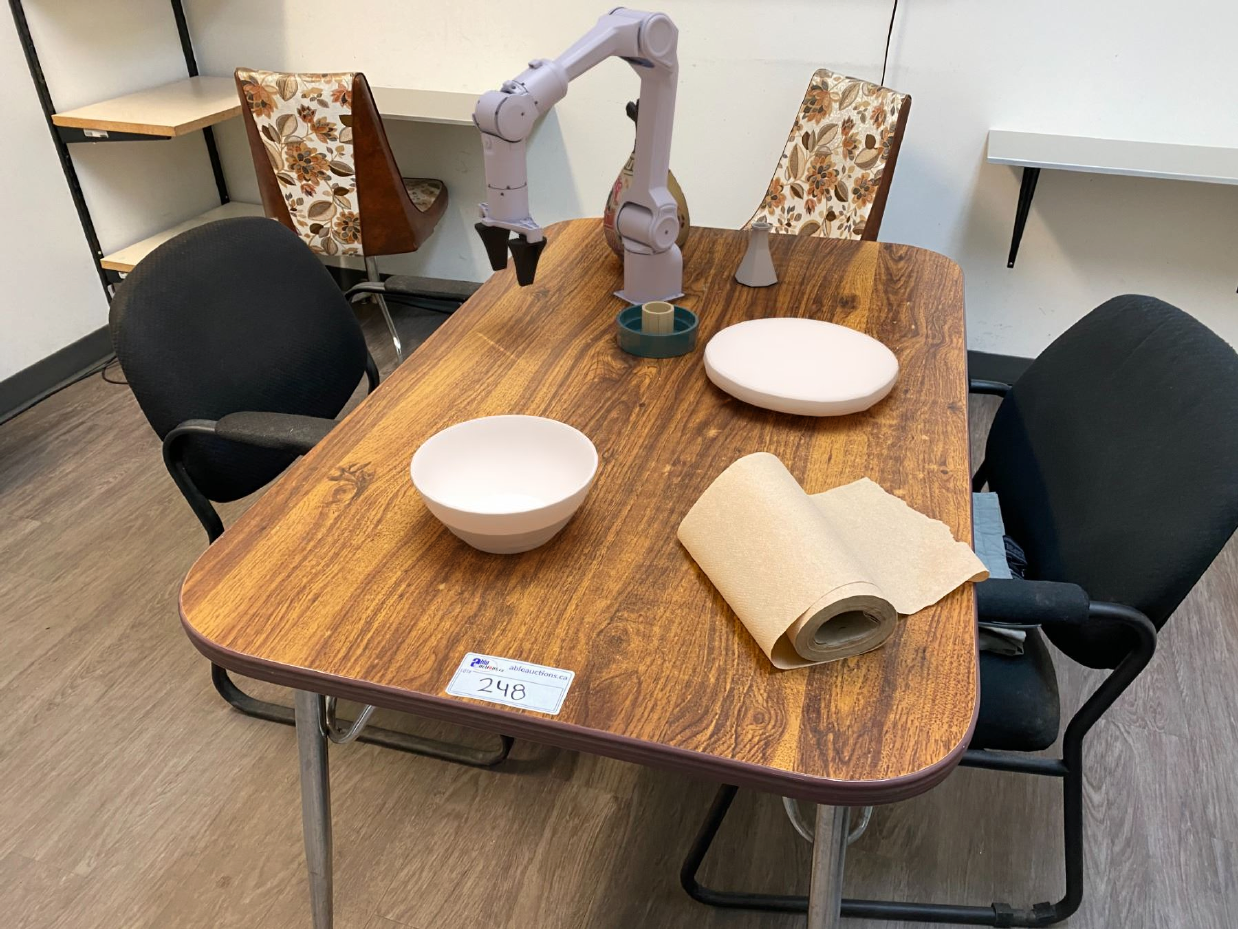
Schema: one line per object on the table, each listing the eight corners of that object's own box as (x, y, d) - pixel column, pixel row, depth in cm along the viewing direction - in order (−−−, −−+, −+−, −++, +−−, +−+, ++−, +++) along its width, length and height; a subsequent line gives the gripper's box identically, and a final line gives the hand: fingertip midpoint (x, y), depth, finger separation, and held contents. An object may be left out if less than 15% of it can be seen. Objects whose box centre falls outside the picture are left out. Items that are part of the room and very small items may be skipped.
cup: (658, 331, 141) (659, 298, 138) (679, 342, 138) (680, 308, 135) (634, 339, 139) (635, 305, 136) (654, 350, 135) (655, 316, 132)
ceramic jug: (597, 255, 172) (595, 85, 156) (676, 250, 174) (683, 82, 158) (612, 288, 158) (613, 105, 142) (699, 282, 160) (709, 102, 144)
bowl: (509, 457, 111) (505, 397, 106) (635, 517, 100) (636, 453, 96) (380, 531, 98) (370, 466, 94) (509, 608, 88) (503, 539, 83)
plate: (716, 304, 140) (895, 319, 135) (713, 344, 142) (888, 361, 138) (693, 365, 115) (911, 387, 111) (689, 412, 118) (902, 436, 113)
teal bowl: (662, 321, 146) (663, 296, 143) (713, 348, 138) (715, 322, 135) (600, 340, 140) (600, 315, 137) (650, 369, 131) (651, 342, 129)
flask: (727, 276, 163) (731, 221, 158) (762, 270, 165) (767, 215, 160) (749, 290, 157) (754, 233, 152) (784, 284, 160) (790, 227, 155)
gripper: (456, 176, 130) (465, 268, 137) (508, 201, 120) (514, 298, 127) (499, 169, 133) (505, 258, 141) (553, 192, 124) (557, 287, 131)
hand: (512, 276), depth 134 cm, fingers open, 7 cm apart
